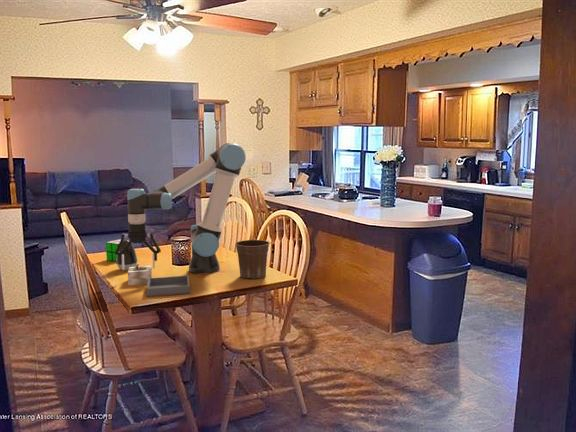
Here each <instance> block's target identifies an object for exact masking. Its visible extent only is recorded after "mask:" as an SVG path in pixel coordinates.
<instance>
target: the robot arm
mask: <svg viewBox="0 0 576 432" xmlns="http://www.w3.org/2000/svg"><path fill="white" fill-rule="evenodd" d="M246 156H247V155H246V153H245V150H244V149H243V147H242V146H240V145H239V144H238V143H233V142H230V143H229V142H227V143H224V144H222V145H221V146H220V147H219V148H218V149H216V150H215V151H214V152H212V153H211V154H209V155H208V158H207V159H205V160H203V161H202V162H200V163H198V164H197V165H195V166H193V167H191V168H190V169H189V170H187V171H185V172H184V173H182V174H180V175H178V177H175V178H174V179H173V180H171V181H170V182H168V183H166V184H165V185H163V186H161V187H159V188H158V189H156V190H154V191H152V192H148V193H147V192H145V189H144V188H130V189H128V190H127V195H126V196H127V213H128V214H127V219H128V220H127V221H128V224H127V225H128V233H122V234H121V238H120V239H121V241H120V243H119V245H118V247H117V249H116V251H115V254H117V255H119V262H122V270H121V271H124V255H122V254H123V253H124V251H125V250H126V249H127V248H128V247H129V245H130V244H131V243H132V244H142V243H143V244H144V245H145V246H146V247H147V248H148V249H149V250H150V251H151V252H152V269H155V268H156V266H155V265H156V263H155V262H156V261H158V254H160V253H161V252H162V251H161V248H160V245H159V244H158V243H157V241H156V239H155V238H154V237H155V236H154V233H153V232H152V231H151V232H149V233H147V226H146V225H147V224H146V210H147V211H148V210H149V211H150V210H163V211H164V210H170V209H172V207H173V206H172V205H173V203H172V202H173V201H172V200H173V199H175V198H176V197H178V196H179V195H181V194H183V193H185V192H186V191H188V190H189V189H191V188H192V187H194V186H195V185H197V184H199V183H201V182H202V181H204V180H206V179H207V178H209V177H210V176H212V175H214V174H215V173H216V175H215V178H214V181H213V184H212V185H213V186H212V188H211V192H210V195H209V198H208V202H207V204H206V208H205V211H204V214H203V218H202V221H200V222H198V224H192V225H191V226H190V238H191V240H190V241H191V257H190V261H189V265H188V271H189V272H190V273H192V274H211V273H216V272H219V270H221V269H220V267H221V265H220V261H219V260H218V257H217V252H218V250H219V247H220V240H221V239H220V238H221V236H222V232H223V230H222V227H221V225H222V221H223V218H224V215H225V211H226V208H227V204H228V202H229V198H230V194H231V191H232V190H233V189H232V187H233V185H234V182H235V179H236V178H237V177H239V176H240V173H241V170H242V168H243V166H244V164H245V162H246V160H247V159H246ZM147 237H148V238H149V239H150V240H151V242H152V244H153V246H154V247H155V248H154V247H153V246H152V245H151V243H149V241H148V240H146V238H147ZM127 238H128V239H129V242H128V243H127V244H126V246H125V247H124V248H123V249H122V250H121V252H119V249H120V247H121V245H122V243H123V241H124V240H127Z"/></svg>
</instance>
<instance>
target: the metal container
mask: <svg viewBox="0 0 576 432" xmlns="http://www.w3.org/2000/svg"><path fill="white" fill-rule="evenodd" d="M135 267H136V266H135ZM135 267H129V270H127V281H128V282H127V283H128V284H127V285H128V286H137V285H148V280H149V278H153V270H152V269H153V265H143V266H140V265H139V267H140V271H135Z"/></svg>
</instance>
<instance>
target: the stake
mask: <svg viewBox="0 0 576 432" xmlns="http://www.w3.org/2000/svg"><path fill="white" fill-rule="evenodd" d="M135 271H140V264H138V263H137V264H136V266H135Z"/></svg>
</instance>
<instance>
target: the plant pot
mask: <svg viewBox="0 0 576 432" xmlns="http://www.w3.org/2000/svg"><path fill="white" fill-rule="evenodd" d="M234 245H235V246H236V247H235V248H236V252H237V258H238V266H239V268H238V269H239V276H240V278H243V279H248V280H249V279H251V280H255V279H256V280H257V279H262V278H265V277H266V276H267V265H268V264H267V263H268V252H269V246H270V245H271V243H270V241H268V240H263V239H262V240H261V239H247V240H240V241H236V242H235V243H234Z"/></svg>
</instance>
